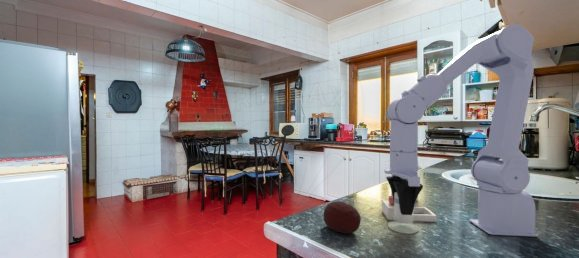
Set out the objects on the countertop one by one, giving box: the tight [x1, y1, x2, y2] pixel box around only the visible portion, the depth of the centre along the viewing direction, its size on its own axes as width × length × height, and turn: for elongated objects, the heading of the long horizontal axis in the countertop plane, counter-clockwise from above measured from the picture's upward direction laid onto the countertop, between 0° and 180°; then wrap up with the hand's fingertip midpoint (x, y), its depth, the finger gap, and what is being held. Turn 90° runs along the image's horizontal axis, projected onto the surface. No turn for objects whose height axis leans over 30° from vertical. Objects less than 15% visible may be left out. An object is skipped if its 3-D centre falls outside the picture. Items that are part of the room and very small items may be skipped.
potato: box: [322, 200, 362, 234], centre depth 58 cm, size 7×10×6 cm
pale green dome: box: [387, 220, 420, 235], centre depth 59 cm, size 6×6×1 cm
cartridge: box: [393, 192, 414, 224], centre depth 59 cm, size 4×4×6 cm
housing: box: [381, 199, 437, 223], centre depth 66 cm, size 11×6×3 cm, turn 83°
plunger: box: [388, 195, 394, 205], centre depth 67 cm, size 3×3×4 cm
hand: (403, 210), depth 59 cm, fingers closed on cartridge, 4 cm apart
